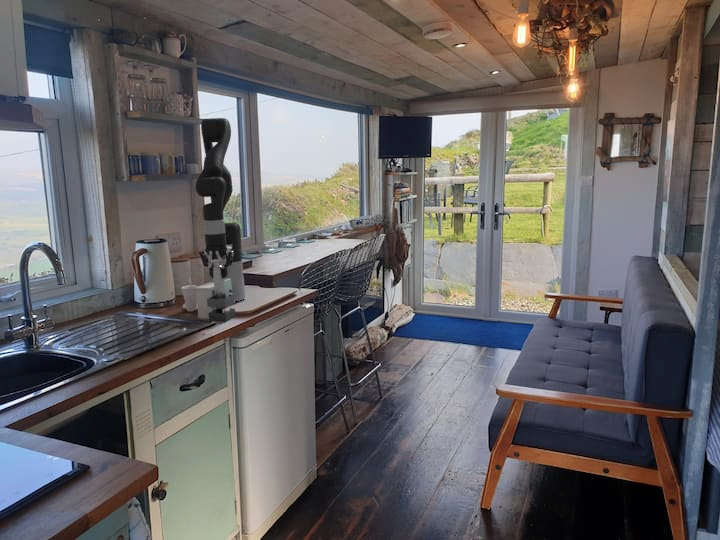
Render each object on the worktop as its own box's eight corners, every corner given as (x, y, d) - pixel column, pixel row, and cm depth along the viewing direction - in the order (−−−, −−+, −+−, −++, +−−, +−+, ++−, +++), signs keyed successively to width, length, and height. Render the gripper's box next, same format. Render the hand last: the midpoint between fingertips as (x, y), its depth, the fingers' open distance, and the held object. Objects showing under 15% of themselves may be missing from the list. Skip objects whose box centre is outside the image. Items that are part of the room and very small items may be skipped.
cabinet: (211, 310, 216) (209, 281, 213) (241, 312, 213) (239, 282, 210) (194, 320, 204) (191, 289, 201) (226, 321, 201) (223, 290, 198)
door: (213, 309, 203) (210, 267, 199) (227, 302, 212) (223, 262, 209) (223, 309, 202) (220, 267, 198) (236, 302, 211) (233, 262, 208)
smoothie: (197, 312, 215) (193, 277, 212) (181, 312, 215) (177, 278, 212) (202, 307, 221) (198, 274, 218) (186, 308, 221) (183, 274, 219)
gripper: (237, 230, 200) (240, 276, 203) (203, 230, 204) (207, 275, 207) (227, 233, 193) (231, 280, 196) (192, 233, 197) (196, 279, 200)
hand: (218, 277), depth 202 cm, fingers closed on door, 4 cm apart
